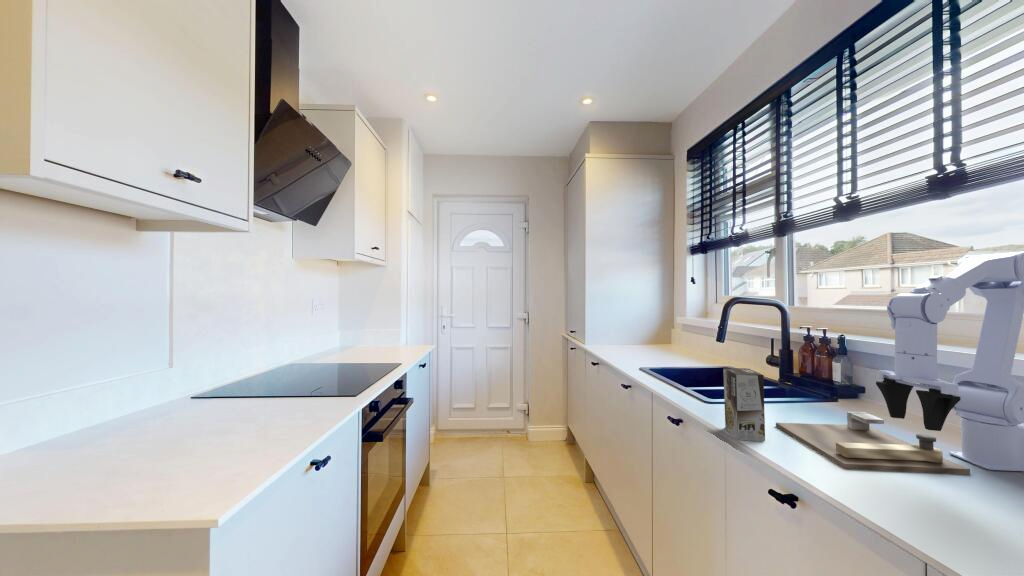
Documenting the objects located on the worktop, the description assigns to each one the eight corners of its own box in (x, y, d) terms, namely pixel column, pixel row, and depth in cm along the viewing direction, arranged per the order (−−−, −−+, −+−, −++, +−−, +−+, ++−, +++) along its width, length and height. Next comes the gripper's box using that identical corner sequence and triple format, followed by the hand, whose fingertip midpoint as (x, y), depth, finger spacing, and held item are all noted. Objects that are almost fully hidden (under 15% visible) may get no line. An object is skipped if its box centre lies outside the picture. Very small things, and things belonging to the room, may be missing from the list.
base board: (867, 429, 98) (866, 410, 98) (970, 474, 73) (968, 448, 73) (775, 426, 101) (775, 407, 101) (844, 468, 76) (843, 443, 76)
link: (928, 454, 80) (927, 433, 80) (949, 463, 75) (948, 440, 76) (833, 450, 82) (833, 429, 82) (848, 459, 78) (848, 437, 78)
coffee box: (766, 442, 91) (764, 374, 91) (737, 440, 92) (735, 374, 92) (750, 429, 100) (749, 367, 100) (724, 427, 101) (722, 367, 101)
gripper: (863, 348, 82) (862, 411, 82) (927, 357, 68) (926, 433, 67) (900, 350, 81) (899, 414, 81) (972, 360, 67) (971, 438, 66)
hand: (914, 423), depth 74 cm, fingers open, 7 cm apart
